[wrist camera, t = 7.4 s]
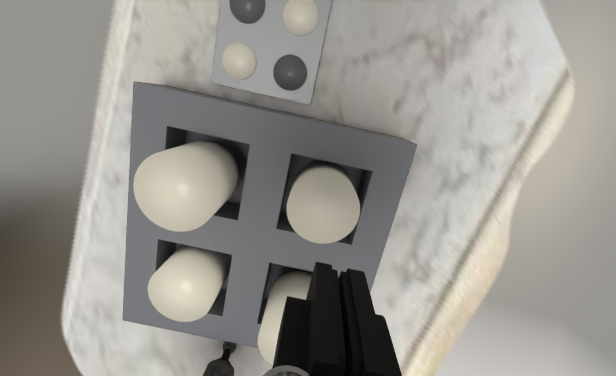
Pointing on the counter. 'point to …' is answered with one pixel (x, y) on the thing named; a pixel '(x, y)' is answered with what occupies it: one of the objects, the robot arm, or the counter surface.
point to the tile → (270, 46)
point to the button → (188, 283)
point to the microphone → (222, 362)
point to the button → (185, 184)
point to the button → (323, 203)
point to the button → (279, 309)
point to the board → (255, 203)
